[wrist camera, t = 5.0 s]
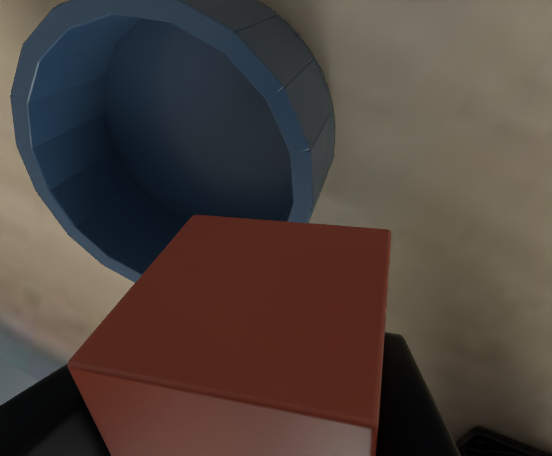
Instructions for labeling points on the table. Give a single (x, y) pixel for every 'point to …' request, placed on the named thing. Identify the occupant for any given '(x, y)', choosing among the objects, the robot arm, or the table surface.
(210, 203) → the tin
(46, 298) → the table surface
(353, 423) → the block
